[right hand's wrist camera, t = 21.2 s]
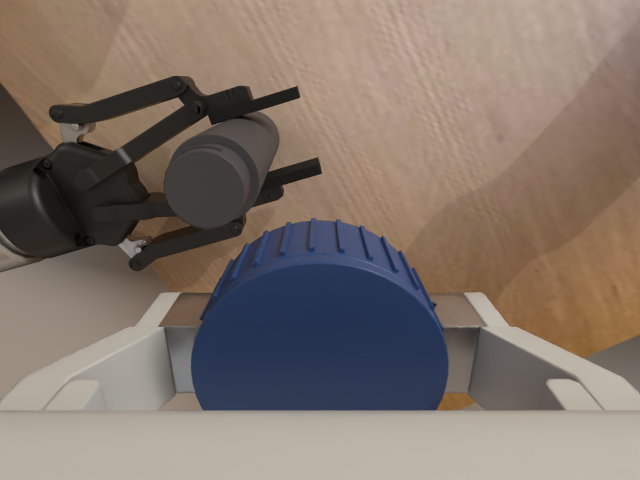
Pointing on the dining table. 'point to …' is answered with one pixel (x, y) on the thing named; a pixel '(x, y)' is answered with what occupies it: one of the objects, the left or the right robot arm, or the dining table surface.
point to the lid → (319, 327)
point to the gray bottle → (221, 171)
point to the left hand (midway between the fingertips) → (308, 129)
